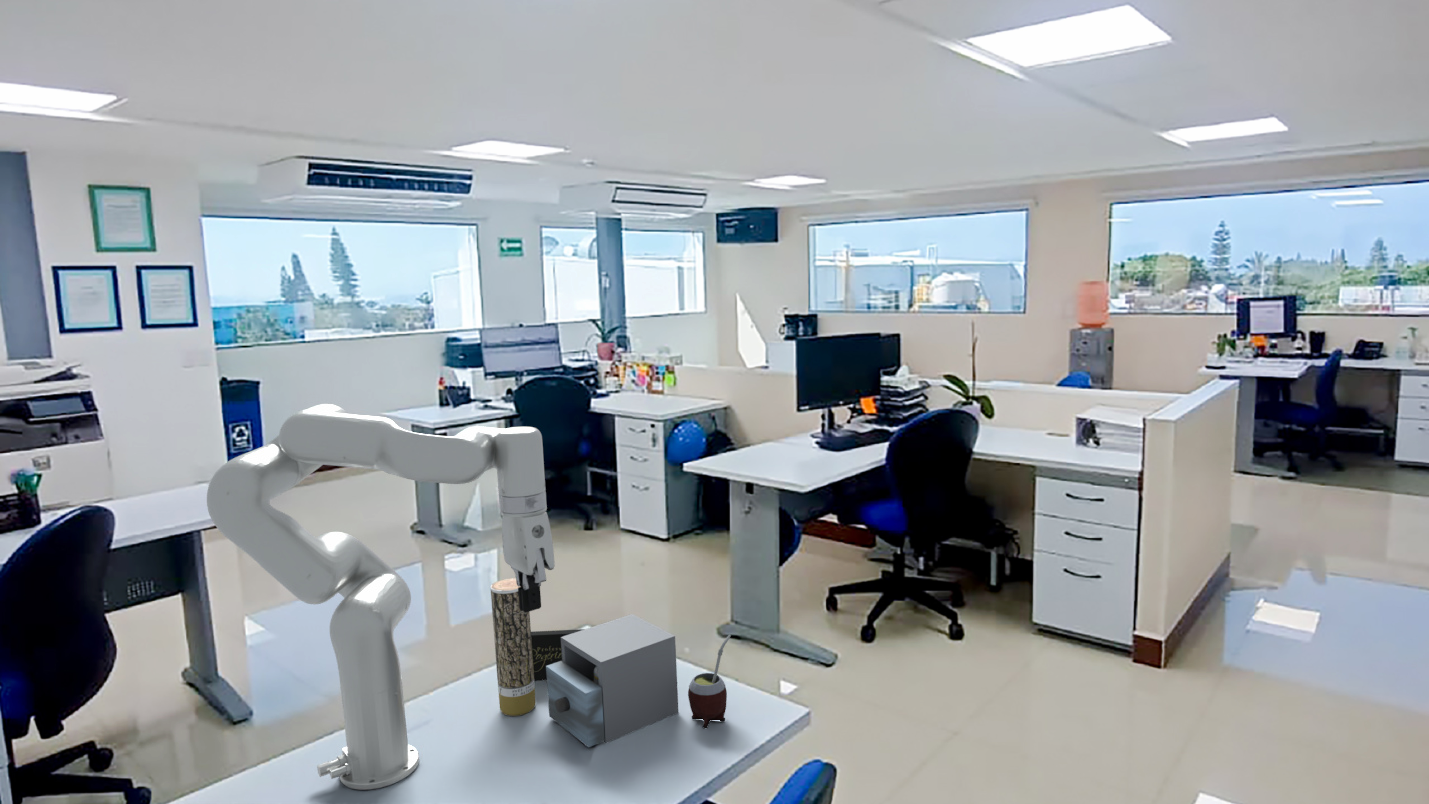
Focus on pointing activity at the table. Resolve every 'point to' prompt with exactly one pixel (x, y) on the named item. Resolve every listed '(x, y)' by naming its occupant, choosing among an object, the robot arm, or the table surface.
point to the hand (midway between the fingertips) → (530, 608)
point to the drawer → (575, 703)
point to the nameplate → (546, 650)
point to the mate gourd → (708, 694)
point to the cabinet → (627, 671)
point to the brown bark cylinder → (512, 650)
